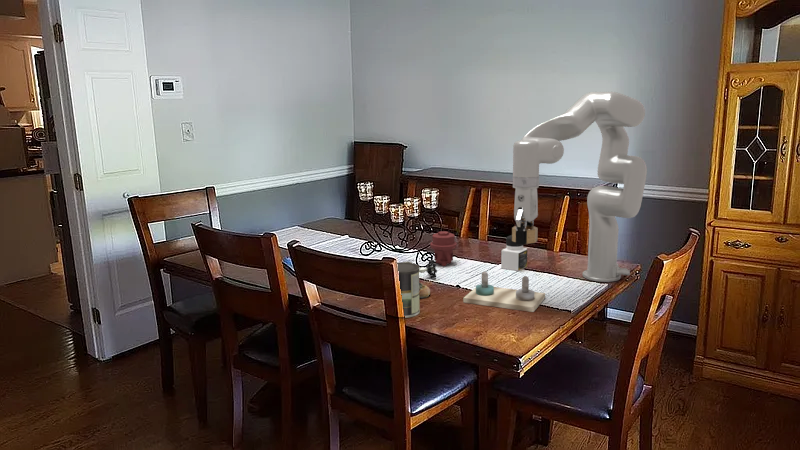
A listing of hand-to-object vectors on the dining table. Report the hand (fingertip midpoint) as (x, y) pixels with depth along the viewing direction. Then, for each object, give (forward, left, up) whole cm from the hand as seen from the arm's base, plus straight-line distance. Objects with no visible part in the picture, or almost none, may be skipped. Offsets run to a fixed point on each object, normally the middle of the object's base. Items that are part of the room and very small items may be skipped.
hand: (524, 240), depth 186 cm
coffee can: (+31, +22, -20) cm, 43 cm away
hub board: (+6, 0, -20) cm, 21 cm away
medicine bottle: (+14, -36, -20) cm, 43 cm away
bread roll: (+35, +6, -20) cm, 40 cm away
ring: (0, 0, 0) cm, 0 cm away
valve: (+40, -9, -20) cm, 46 cm away
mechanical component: (+40, -31, -20) cm, 54 cm away
